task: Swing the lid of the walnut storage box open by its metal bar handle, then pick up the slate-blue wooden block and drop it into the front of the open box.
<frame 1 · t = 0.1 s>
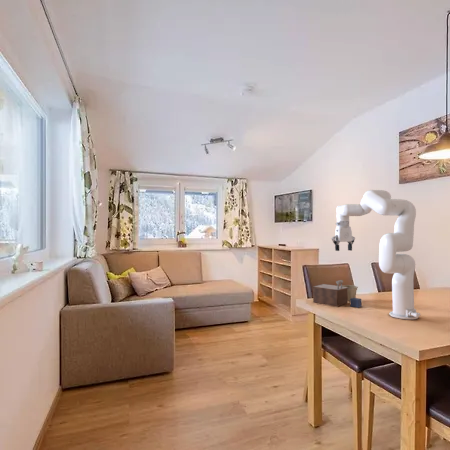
hand: (343, 250, 197), 31 cm above the table, tool pointing down, fingers open, 9 cm apart
lid: (330, 283, 185), point 12 cm above the table, hinge at 0.0°
block: (356, 306, 175), on the table
flower pot: (350, 300, 192), on the table
chest: (330, 302, 185), on the table
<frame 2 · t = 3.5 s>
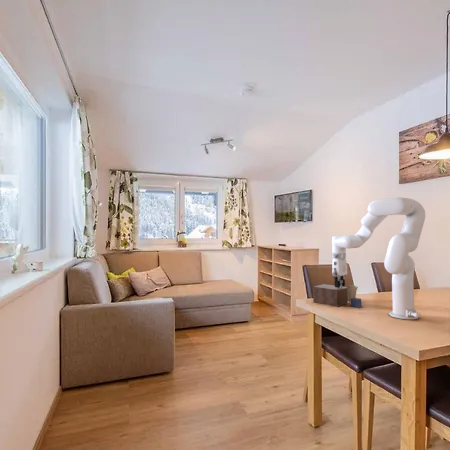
hand: (339, 286, 181), 11 cm above the table, tool pointing down, fingers closed on lid, 5 cm apart
lid: (330, 283, 185), point 12 cm above the table, hinge at 0.0°, touching gripper
everything else where it was.
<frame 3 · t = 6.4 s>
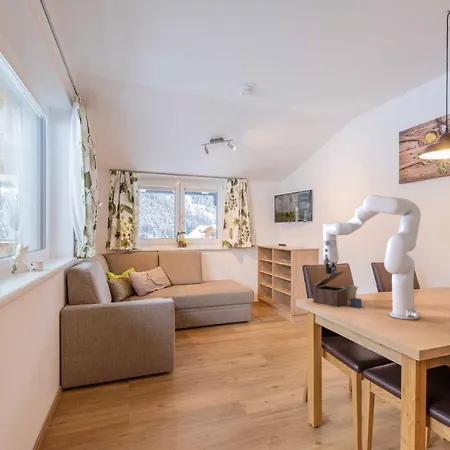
hand: (331, 273, 185), 18 cm above the table, tool pointing down, fingers closed on lid, 5 cm apart
lid: (326, 276, 187), point 16 cm above the table, hinge at 35.2°, touching gripper
everything else where it was.
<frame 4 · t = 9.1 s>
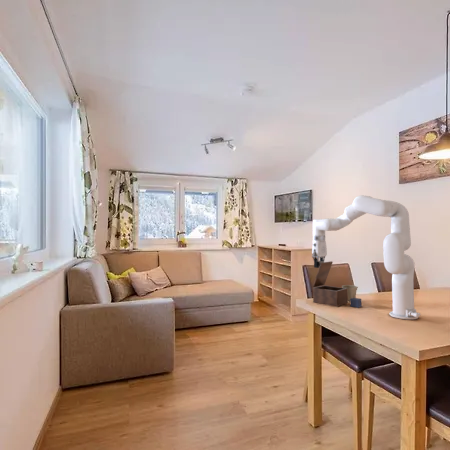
hand: (319, 267, 191), 21 cm above the table, tool pointing down, fingers closed on lid, 5 cm apart
lid: (319, 272, 191), point 18 cm above the table, hinge at 67.8°, touching gripper
everything else where it was.
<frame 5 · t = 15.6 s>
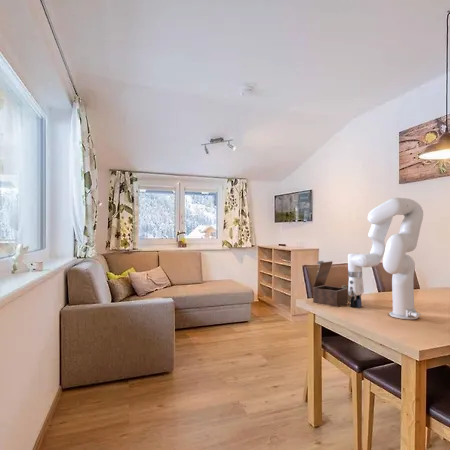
hand: (355, 305, 175), 0 cm above the table, tool pointing down, fingers closed on block, 4 cm apart
lid: (319, 272, 191), point 18 cm above the table, hinge at 68.0°
block: (356, 306, 175), on the table, touching gripper
everything else where it was.
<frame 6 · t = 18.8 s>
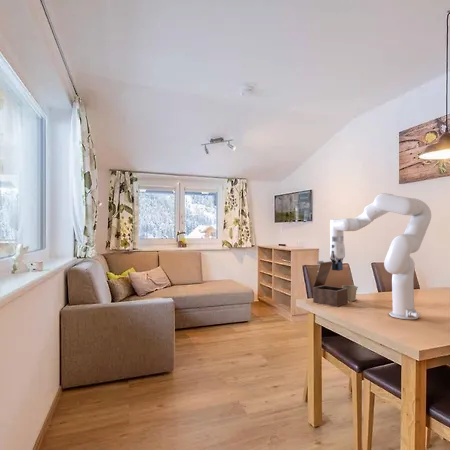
hand: (337, 269, 182), 21 cm above the table, tool pointing down, fingers closed on block, 4 cm apart
block: (337, 270, 182), point 20 cm above the table, touching gripper
everything else where it was.
when the fingers open (7 cm above the table, at t = 22.4 s): block drops 6 cm, resting on chest.
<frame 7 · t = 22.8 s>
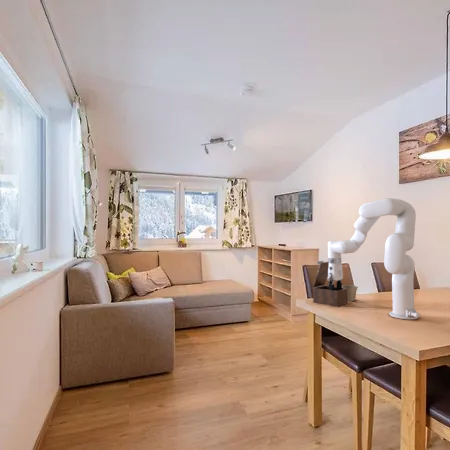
hand: (335, 290, 183), 8 cm above the table, tool pointing down, fingers open, 8 cm apart
block: (335, 302, 182), point 1 cm above the table, touching chest
everything else where it was.
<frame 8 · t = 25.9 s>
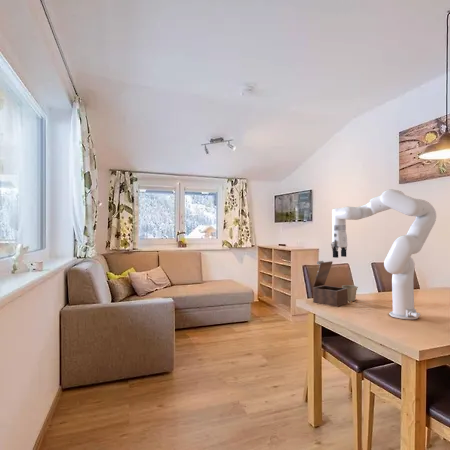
hand: (339, 257, 181), 28 cm above the table, tool pointing down, fingers open, 9 cm apart
nothing on the table moved.
at the end: lid at +68° (first picture: +0°); block inside the target area in the chest (3.5 cm from its centre), point 0.9 cm above the chest's base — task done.
